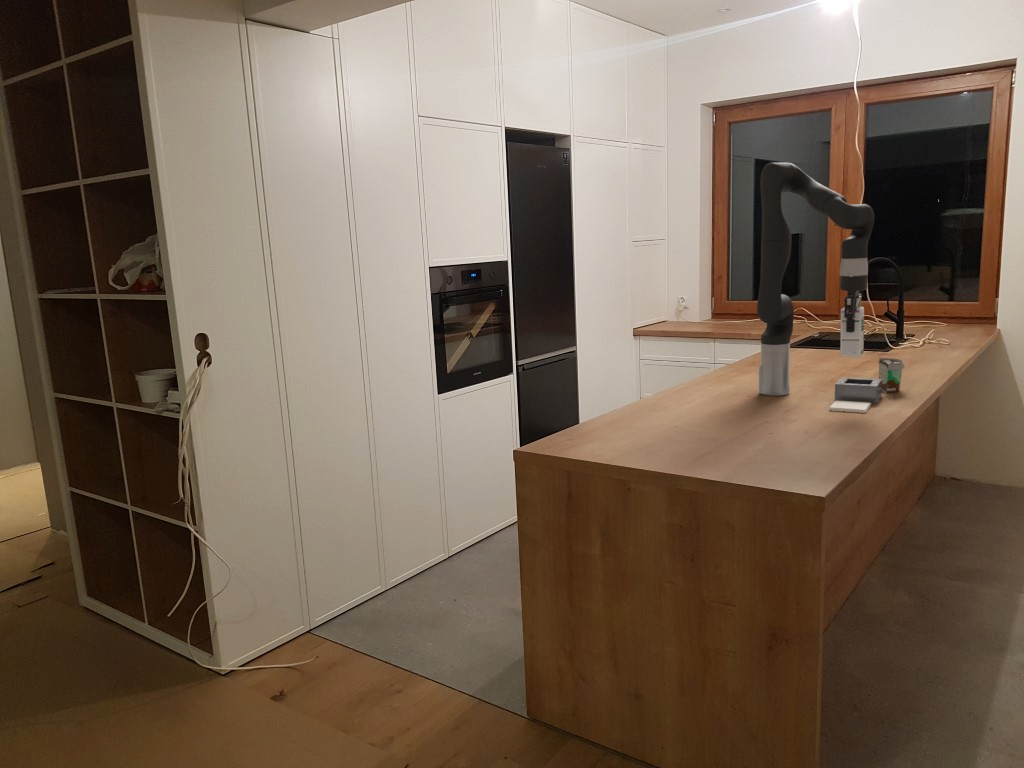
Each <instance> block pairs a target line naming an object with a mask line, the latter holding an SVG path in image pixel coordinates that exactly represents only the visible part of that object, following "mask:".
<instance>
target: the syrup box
mask: <svg viewBox="0 0 1024 768" xmlns="http://www.w3.org/2000/svg"><path fill="white" fill-rule="evenodd" d="M848 314H852V312H848ZM844 315H845V309H844V307H843V308H841V309H840V337H839V340H840V341H839V342H840V345H839V346H840V347H839V348H840V350H839V351H840V353H839V355H840V357H844V358H845V357H847V358H861V357H862V356H863V355H864V348H865V347H864V346H865V345H864V344H865V343H864V341H865V335H864V334H865V307H864V306H861V307H858V308H857V312H856V313H855V319H853V320H855V330H854V332H846V320H847V319H846V318H845V317H844Z"/></svg>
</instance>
